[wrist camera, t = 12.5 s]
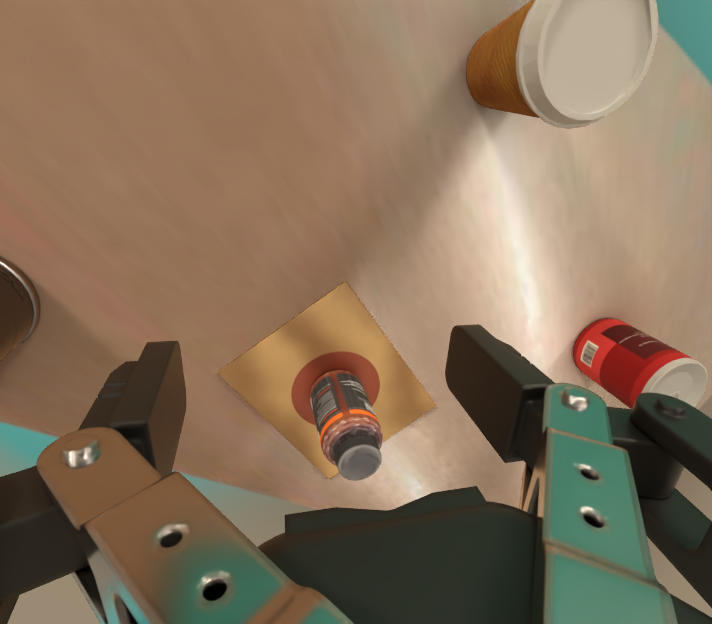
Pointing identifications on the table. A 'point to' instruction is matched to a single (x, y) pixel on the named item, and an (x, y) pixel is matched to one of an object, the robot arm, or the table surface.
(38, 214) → the table surface
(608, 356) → the canned food
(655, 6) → the disposable coffee cup
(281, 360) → the placemat
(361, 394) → the supplement bottle
